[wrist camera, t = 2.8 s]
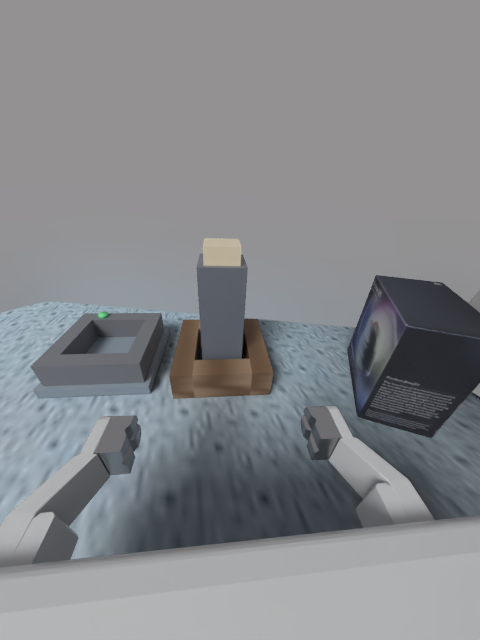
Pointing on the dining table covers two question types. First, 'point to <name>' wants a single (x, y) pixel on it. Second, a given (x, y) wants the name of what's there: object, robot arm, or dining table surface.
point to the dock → (103, 356)
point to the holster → (220, 366)
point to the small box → (414, 354)
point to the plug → (221, 298)
